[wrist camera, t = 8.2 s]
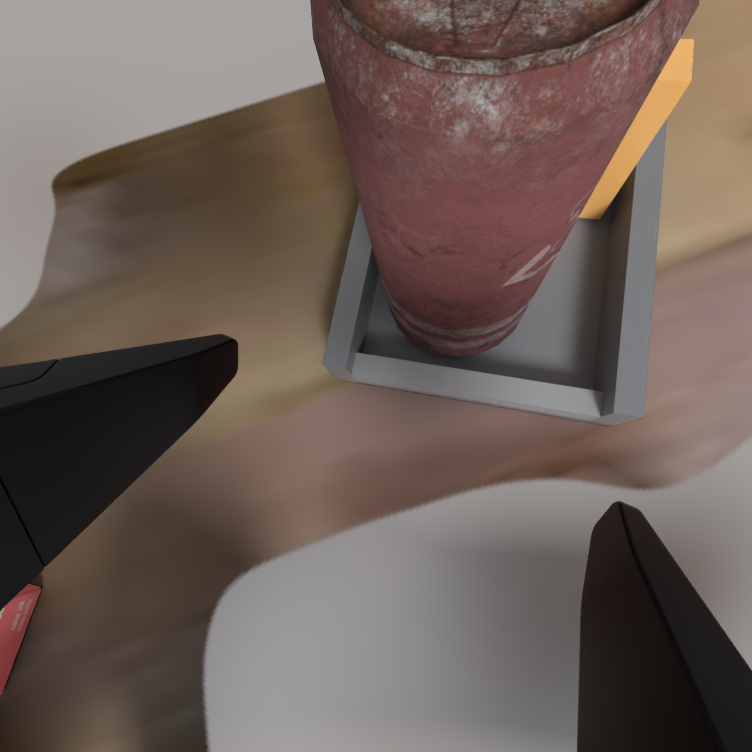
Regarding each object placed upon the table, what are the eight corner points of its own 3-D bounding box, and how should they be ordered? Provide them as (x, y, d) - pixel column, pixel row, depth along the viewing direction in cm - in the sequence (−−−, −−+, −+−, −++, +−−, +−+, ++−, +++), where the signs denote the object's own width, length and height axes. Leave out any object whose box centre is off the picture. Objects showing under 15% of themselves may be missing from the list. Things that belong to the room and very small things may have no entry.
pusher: (599, 219, 19) (691, 80, 12) (403, 201, 21) (388, 69, 14) (604, 171, 19) (695, 12, 13) (412, 156, 21) (402, 8, 14)
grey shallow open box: (609, 426, 18) (674, 410, 13) (338, 379, 20) (307, 350, 15) (635, 142, 20) (698, 40, 16) (393, 126, 22) (382, 32, 18)
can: (485, 211, 20) (589, -326, 7) (549, 326, 18) (863, -68, 5) (368, 263, 20) (234, -150, 7) (421, 381, 19) (384, 151, 5)
